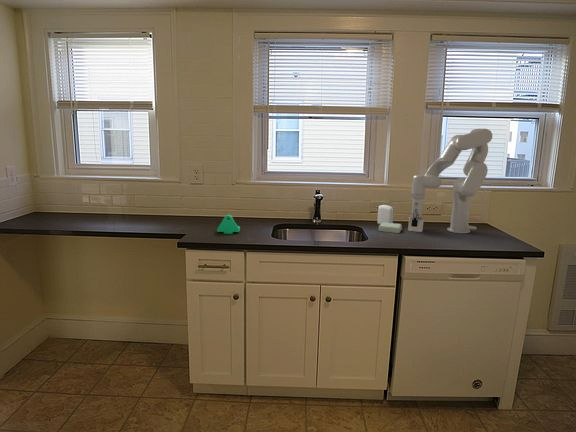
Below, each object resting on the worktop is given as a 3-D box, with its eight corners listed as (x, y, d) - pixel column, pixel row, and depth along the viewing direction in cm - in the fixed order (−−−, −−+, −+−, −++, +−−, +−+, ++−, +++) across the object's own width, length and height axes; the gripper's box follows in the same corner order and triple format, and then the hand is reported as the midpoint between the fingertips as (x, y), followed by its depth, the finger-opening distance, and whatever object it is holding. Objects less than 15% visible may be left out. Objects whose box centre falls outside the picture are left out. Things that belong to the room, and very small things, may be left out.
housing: (422, 230, 242) (423, 217, 241) (422, 232, 238) (423, 218, 236) (408, 229, 245) (409, 216, 243) (407, 230, 240) (408, 217, 239)
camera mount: (240, 230, 234) (240, 213, 232) (238, 233, 226) (238, 215, 224) (219, 230, 233) (218, 212, 231) (217, 233, 226) (216, 215, 224)
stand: (401, 228, 245) (401, 223, 244) (399, 233, 234) (399, 228, 233) (381, 226, 249) (381, 222, 249) (378, 231, 238) (378, 226, 238)
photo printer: (376, 223, 259) (377, 204, 256) (380, 222, 261) (381, 203, 259) (389, 226, 251) (390, 206, 248) (393, 225, 254) (395, 206, 251)
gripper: (423, 198, 228) (420, 228, 231) (425, 195, 244) (422, 222, 247) (409, 197, 231) (407, 227, 234) (412, 193, 246) (409, 221, 250)
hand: (414, 224), depth 241 cm, fingers open, 9 cm apart
